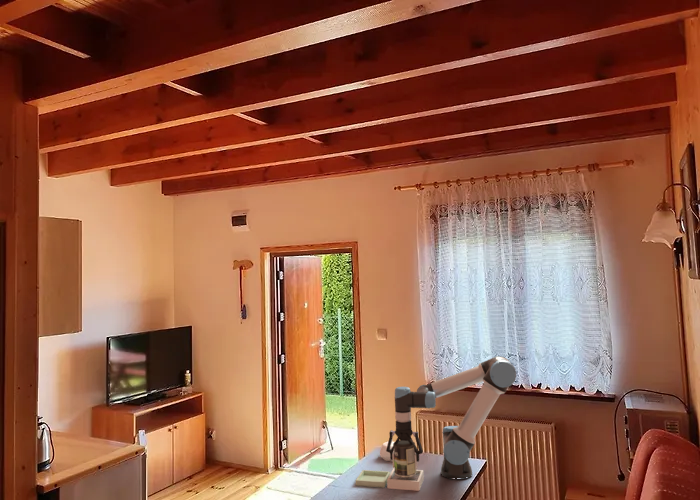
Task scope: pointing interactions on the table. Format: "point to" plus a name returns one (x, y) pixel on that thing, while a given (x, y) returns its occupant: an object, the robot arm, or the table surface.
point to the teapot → (384, 453)
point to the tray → (372, 478)
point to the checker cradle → (405, 482)
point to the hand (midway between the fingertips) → (405, 467)
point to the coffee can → (404, 459)
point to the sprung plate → (413, 478)
